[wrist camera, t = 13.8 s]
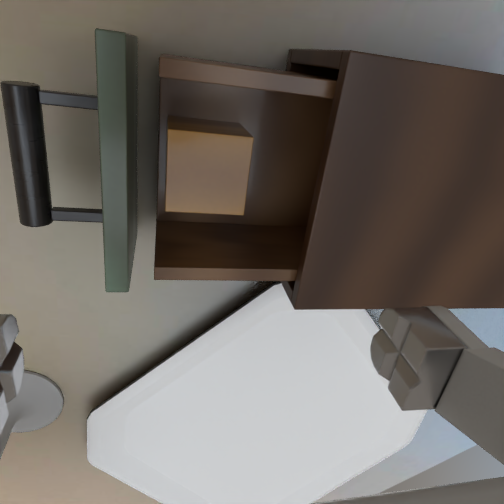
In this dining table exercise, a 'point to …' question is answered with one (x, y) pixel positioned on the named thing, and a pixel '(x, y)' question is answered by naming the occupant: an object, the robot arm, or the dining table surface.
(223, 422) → the plate
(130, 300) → the dining table surface
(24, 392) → the wineglass
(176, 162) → the block
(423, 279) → the cabinet
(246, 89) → the drawer
